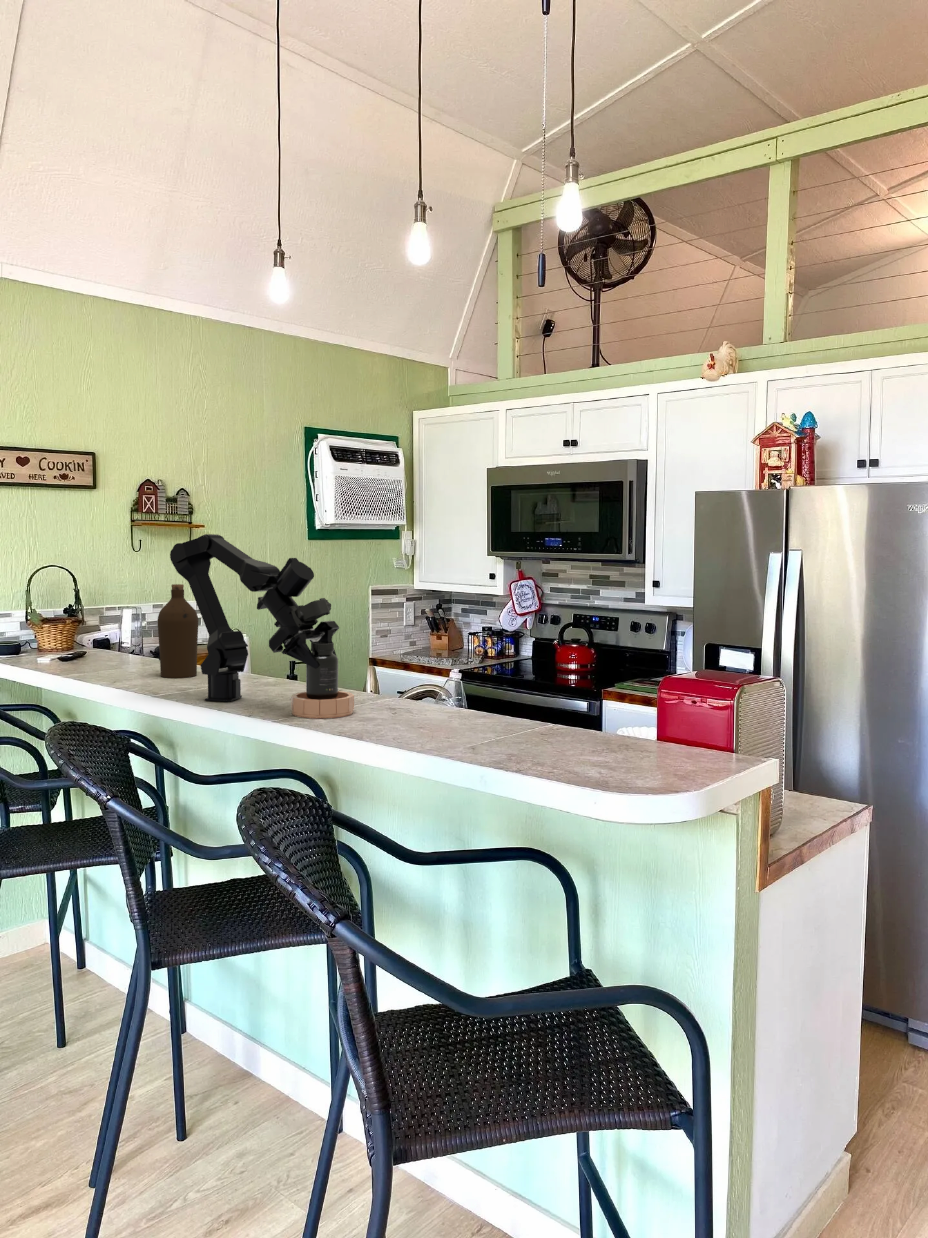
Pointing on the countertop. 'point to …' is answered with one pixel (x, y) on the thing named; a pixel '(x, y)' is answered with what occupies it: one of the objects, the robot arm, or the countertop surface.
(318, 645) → the supplement bottle
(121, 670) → the countertop surface
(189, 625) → the olive oil
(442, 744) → the countertop surface
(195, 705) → the countertop surface
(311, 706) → the terracotta bowl
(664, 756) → the countertop surface
